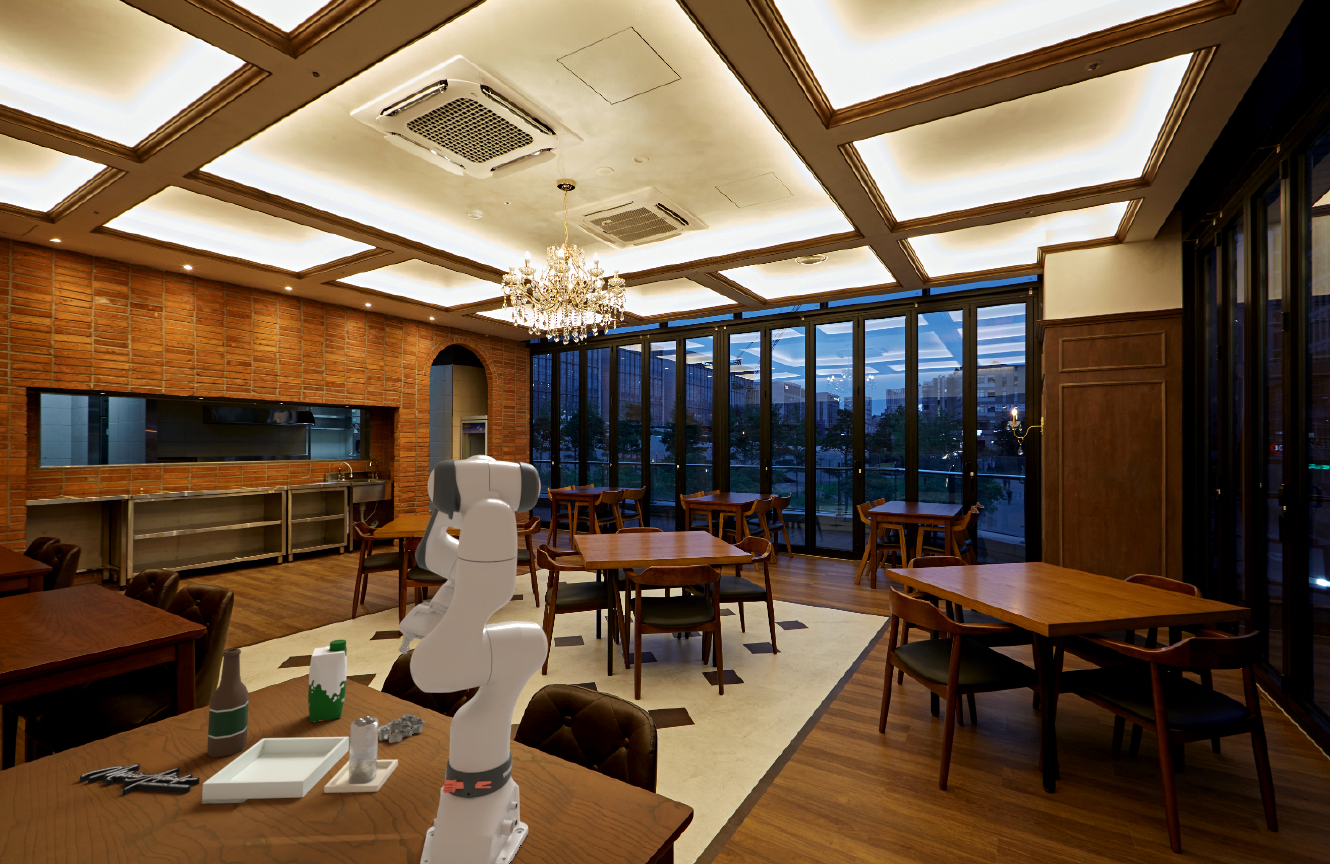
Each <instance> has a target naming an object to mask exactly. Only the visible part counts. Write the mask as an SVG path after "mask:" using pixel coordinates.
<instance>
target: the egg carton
mask: <svg viewBox="0 0 1330 864" xmlns="http://www.w3.org/2000/svg"><path fill="white" fill-rule="evenodd" d="M426 722H427V721H426V719H424V720H423V719H422V717H417V716H416V715H414V714H413V715H411V714H410V713H408V712H407V713H405V714H404V715H403V716H401V717H399V718H397V719H393V720H392V721H391V722H388V723H386V724H385V725H380V726H378V741H381V742H382V741H383V740H384V741H385V740H388V743H390V744H393V743H397V742H399V743H400V742H402V741H403V738H405V737H412V736H413V735H412V734H414V733H420V734H422V733H423V726H425V723H426ZM411 728H412V729H411ZM392 732H395V733H392ZM421 732H422V733H421ZM391 733H392V734H391ZM414 735H415V734H414Z"/></svg>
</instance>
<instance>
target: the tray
mask: <svg viewBox="0 0 1330 864" xmlns="http://www.w3.org/2000/svg"><path fill="white" fill-rule="evenodd" d="M398 766H399V759H377V775H376V778H375V779H374V780H372V781H370V782H368V783H365V784H350V783H349V760H348V761H347V762H346V763H345V764H344V765H343V766H342V767H341V769H339V770H338V772H337V773H336V774H335V775H334V776H333V777H332V778H331V779H330V780H329V781H328V782H327V783H326V784H325V785H324V787H323V793H324V794H333V793H335V794H336V793H370V792H371V793H372V792H373V793H374V792H375V793H376V792H379V791H380V789H381V788H382V787H383V785H384V784H385V783H386V781H387V780H388V779H389V777H390V776H391V775H392V774H393V772H394V771H395V770H396V768H397V767H398Z"/></svg>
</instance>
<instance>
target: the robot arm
mask: <svg viewBox="0 0 1330 864" xmlns="http://www.w3.org/2000/svg"><path fill="white" fill-rule="evenodd" d="M540 479H541V478H540V476H539V472H538V470H537V469H536V467H534V466H533V465H532V464H530V463H527V462H522V461H518V462H514V461H513V462H511V461H504V460H496V459H495V458H493V457H492V456H488V455H486V454H477V455H472V456H469V457H468V458H466V459H460V460H455V459H454V458H453V459H445V460H441V461H438V462H437V463H436V464H435V465H434V466H433V470H432V471H431V472H430V474H429V477H428V481H427V493H428V497H429V499H430V501H431V504H432V506H433V507H434V509H433V511H432V513H431V516H430V518H429V520H428V524H427V526H426V528H425V531H424V533H423V536H422V538H421V540H420V542H419V543H418V545H417V547H416V550H415V552H414V555H415V556H414V557H415V561H416V563H417V566H418V567H419V568H420V569H424V570H426V571H429V572H432V573H434V574H436V575H438V576H440V577H441V578H444V579H446V582H445V583H443V584H442V585H441V586H440V588H439V589H438V590H437V592H436V593H435V595H434V596H433V597H432V599H431V600H430V602H428V601H423V602H422V603H419V604H417V605H416V606H414V607H412V609H411V610H410V611H409V612H408V613H407V614H406V616H405V617H404V618H403V619H402V620H401V621H400V623H399V624H398V631H399V632H400V633H401V634H403V636H402V642H401V644H400V646H399V647H398V650H397V651H398V652H399V653H400V654H403V655H407V654H408V652H409V650H410V649H411V648H410V644H411V642H413V641H414V639H418V640H420V641H418V643H417V645H416V646H415V648H414V649H413V651H412V654H411V657H410V663H409V668H410V675H411V678H412V680H413V682H414V684H415V685H416V686H417V688H419V690H420V691H422V692H424V693H453V692H458V691H462V690H463V691H464V690H468V689H472V688H477V687H479V688H478V690H477V692H476V693H475V695H474V696H473V697H472V698H471V699H469V700H468V701H467V702H466V703H464V704H463V705H462V706H461V707H460V708H458V710H457V711H456V713H454V716H453V717H452V720H451V722H450V726H449V729H450V730H449V758H448V760H447V763H446V768H445V773H444V778H445V779H444V783H443V786H442V787H440V798H439V803H438V808H437V813H436V817H435V818H433V820H432V826H431V827H430V828H428V829H427V831H426V835H425V840H424V844H423V850H422V853H421V858H420V862H419V864H509V863H510V862H511V861H512V862H513V860H514V858H515V856H516V855H515V854H517V852H519V849H520V848H521V846H522V844H523V843H524V841H525V839H526V837H527V835H528V834H529V826H528V824H527V823H525V822H523V821H521V819H520V817H521V815H520V813H521V811H520V809H521V808H520V804H521V803H520V786H519V785H518V784H517V783H516V782H515V781H514V779H513V778H512V773H513V771H512V770H513V769H512V768H513V757H512V756H513V754H512V752H511V751H510V750H511V749H510V748H511V734H512V733H511V731H512V720H513V714H514V710H515V707H516V705H517V702H518V699H519V698H520V695H521V693H522V691H523V690H524V688H525V687H526V685H527V683H528V682H529V681H530V680H531V678H532V677H533V676H534V675H535V674H536V673H537V672H538V671H539V670H540V669H542V666H543V665H544V664H545V662H546V659H547V656H548V651H549V644H548V637H547V635H546V632H545V631H544V629H543V628H542V627H541V626H540V625H539V624H538V623H537V622H534V621H525V620H509V621H508V620H507V621H501V622H496V623H489V624H487V623H488V621H489V620H490V618H491V616H493V615H494V613H496V612H497V611H498V610H500V609H501V608H503V607H504V606H506V605H507V604H508V603H509V602H510V601H511V600H512V598H513V596H514V595H515V591H516V586H517V583H516V582H517V570H518V569H517V564H518V528H517V519H516V513H518V514H519V513H522V512H524V513H525V512H528V511H531V510H532V509H533V508H534V507H535V506H536V505H537V503H538V500H539V497H540V495H541V487H542V486H541V480H540ZM515 512H516V513H515ZM448 528H454V529H458V530H460V531H459V539H457V538H455V537H453V536H451V535H450V534H448V532H447V530H448ZM520 845H521V846H520ZM519 847H520V848H519ZM512 862H511V863H512ZM511 863H510V864H511Z"/></svg>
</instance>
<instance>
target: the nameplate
mask: <svg viewBox="0 0 1330 864" xmlns="http://www.w3.org/2000/svg"><path fill="white" fill-rule="evenodd" d="M140 768H141V764H140V763H136V764H130V765H126V766H124V765H117V766H110V767H104V768H101V769H96V770H93V771H89V772H86V773H85V772H84V773H83V774H80V775H79V783H85V782H87V784H88V785H89V784H93V783H97V782H101V781H103V782H104V785H105V786H107V787H108V786H113V783H122V787H124V788H123V789H122V793H121V794H122V796H126V795H128V794H131V793H133V792H134V791H142V792H143V791H144V792H157V793H171V794H188V793H190V792H191V786H196V785H200V783H201V782H200V779H201V778H200V777H193V773H191V774H187V775H185V776H182V777H181V776H179V774H181V773H180V770H181V768H180V767H175V768H172V769H168V770H165V771H161V772H157V773H152V774H147V773H145V772H144V771H143V772H139V771H140ZM138 772H139V773H138Z"/></svg>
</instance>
